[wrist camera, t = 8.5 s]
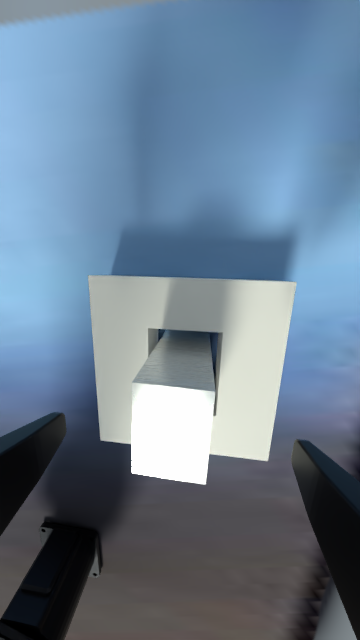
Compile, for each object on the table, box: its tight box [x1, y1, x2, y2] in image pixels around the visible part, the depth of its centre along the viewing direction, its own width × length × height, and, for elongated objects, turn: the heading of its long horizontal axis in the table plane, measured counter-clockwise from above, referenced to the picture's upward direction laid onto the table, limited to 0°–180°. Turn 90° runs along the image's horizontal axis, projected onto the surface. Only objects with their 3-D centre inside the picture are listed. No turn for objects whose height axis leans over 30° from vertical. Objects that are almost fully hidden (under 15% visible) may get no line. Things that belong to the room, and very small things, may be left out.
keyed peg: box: [132, 329, 215, 485], centre depth 12 cm, size 3×5×8 cm
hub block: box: [88, 275, 296, 461], centre depth 14 cm, size 12×12×3 cm
